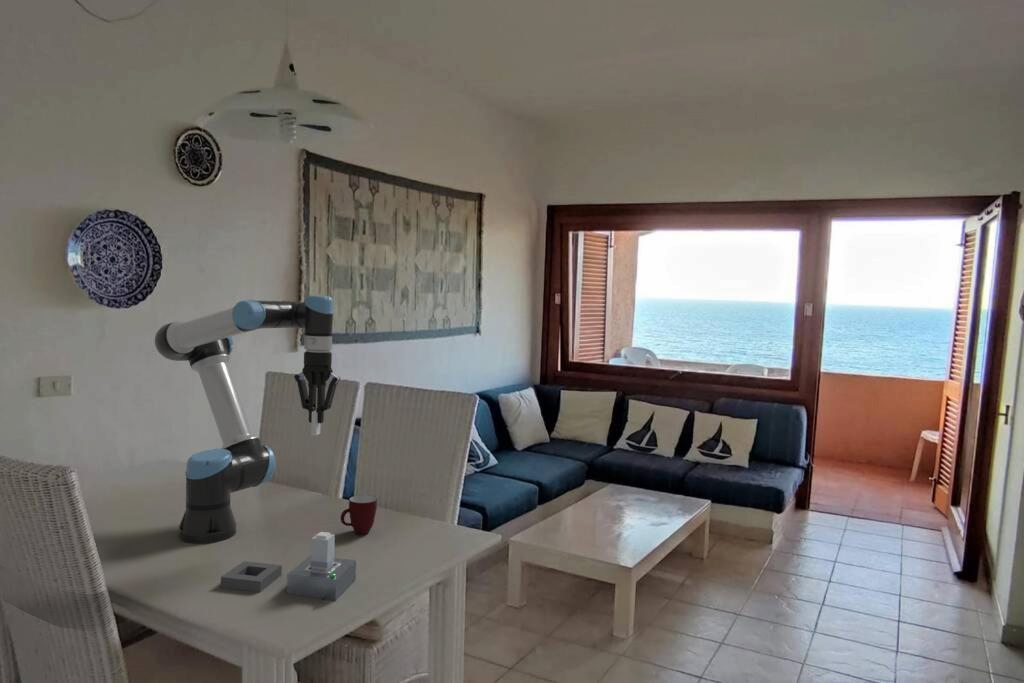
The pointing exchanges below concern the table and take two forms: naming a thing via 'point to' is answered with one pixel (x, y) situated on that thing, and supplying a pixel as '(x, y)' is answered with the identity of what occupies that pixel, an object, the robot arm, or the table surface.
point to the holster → (251, 576)
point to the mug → (361, 513)
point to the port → (322, 579)
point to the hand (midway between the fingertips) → (315, 434)
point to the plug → (323, 552)
